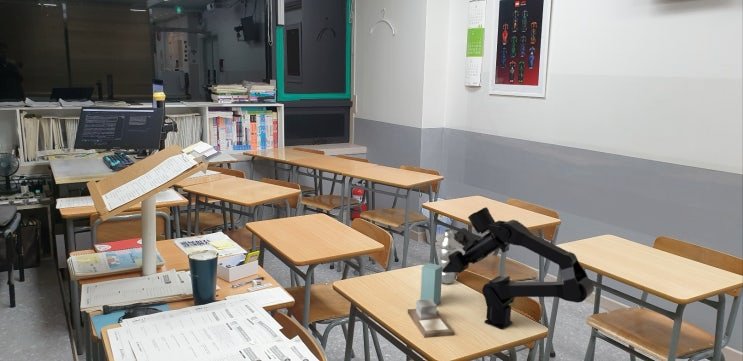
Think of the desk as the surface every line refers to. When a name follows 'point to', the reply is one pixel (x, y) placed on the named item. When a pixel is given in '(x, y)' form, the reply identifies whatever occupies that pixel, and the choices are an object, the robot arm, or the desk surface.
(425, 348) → the desk surface
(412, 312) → the base plate
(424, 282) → the pillar block
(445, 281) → the silver ribbed bottle
